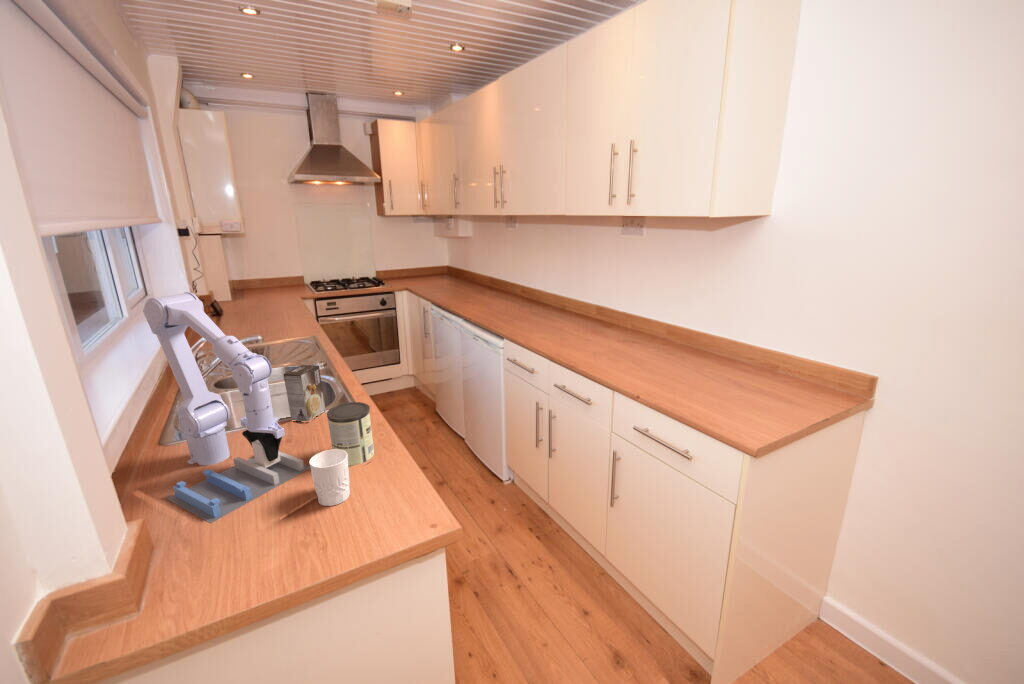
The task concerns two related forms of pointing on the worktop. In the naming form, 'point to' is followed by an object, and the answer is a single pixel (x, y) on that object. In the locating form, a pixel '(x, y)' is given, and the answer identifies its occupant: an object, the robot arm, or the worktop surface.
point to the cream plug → (262, 455)
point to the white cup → (330, 476)
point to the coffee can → (352, 431)
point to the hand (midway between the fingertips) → (267, 457)
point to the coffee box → (304, 392)
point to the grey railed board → (234, 486)
